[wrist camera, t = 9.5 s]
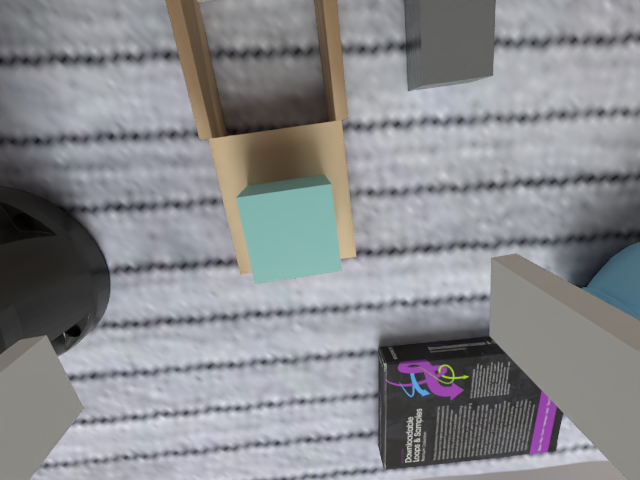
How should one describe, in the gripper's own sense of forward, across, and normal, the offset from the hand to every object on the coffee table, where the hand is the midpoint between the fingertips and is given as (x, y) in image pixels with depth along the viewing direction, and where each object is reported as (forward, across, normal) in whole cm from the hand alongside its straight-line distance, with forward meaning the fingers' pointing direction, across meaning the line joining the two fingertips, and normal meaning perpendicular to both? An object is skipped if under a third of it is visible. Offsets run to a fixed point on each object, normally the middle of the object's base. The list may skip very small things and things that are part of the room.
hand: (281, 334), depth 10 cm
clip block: (+15, 0, 0) cm, 15 cm away
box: (+19, +15, -24) cm, 34 cm away
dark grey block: (+19, +13, +11) cm, 26 cm away
